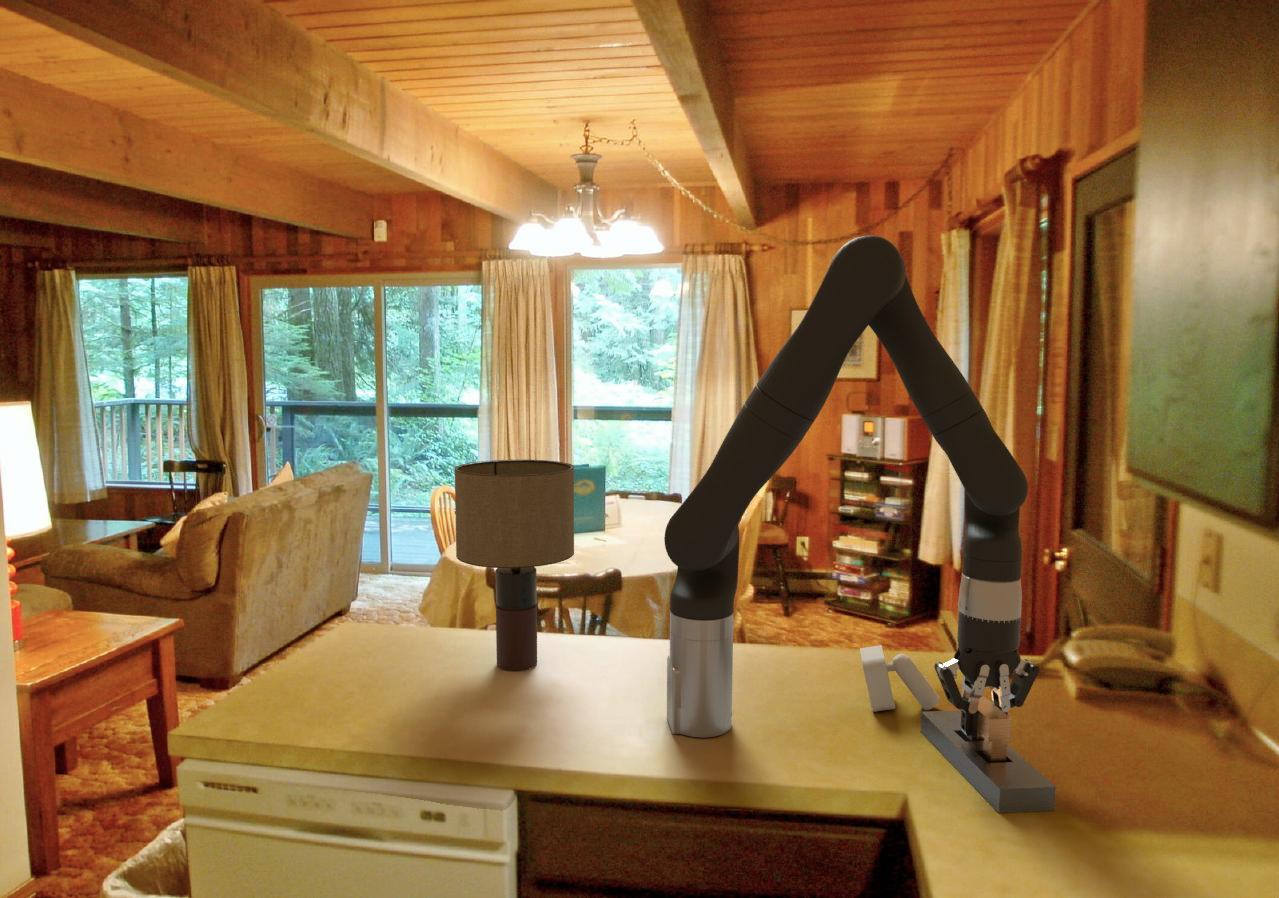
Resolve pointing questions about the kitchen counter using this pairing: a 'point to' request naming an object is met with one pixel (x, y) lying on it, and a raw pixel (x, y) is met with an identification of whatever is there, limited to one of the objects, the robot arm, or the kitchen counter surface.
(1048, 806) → the rail
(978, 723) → the wooden block
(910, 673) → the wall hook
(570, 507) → the lamp
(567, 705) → the kitchen counter surface
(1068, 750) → the kitchen counter surface
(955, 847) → the kitchen counter surface
